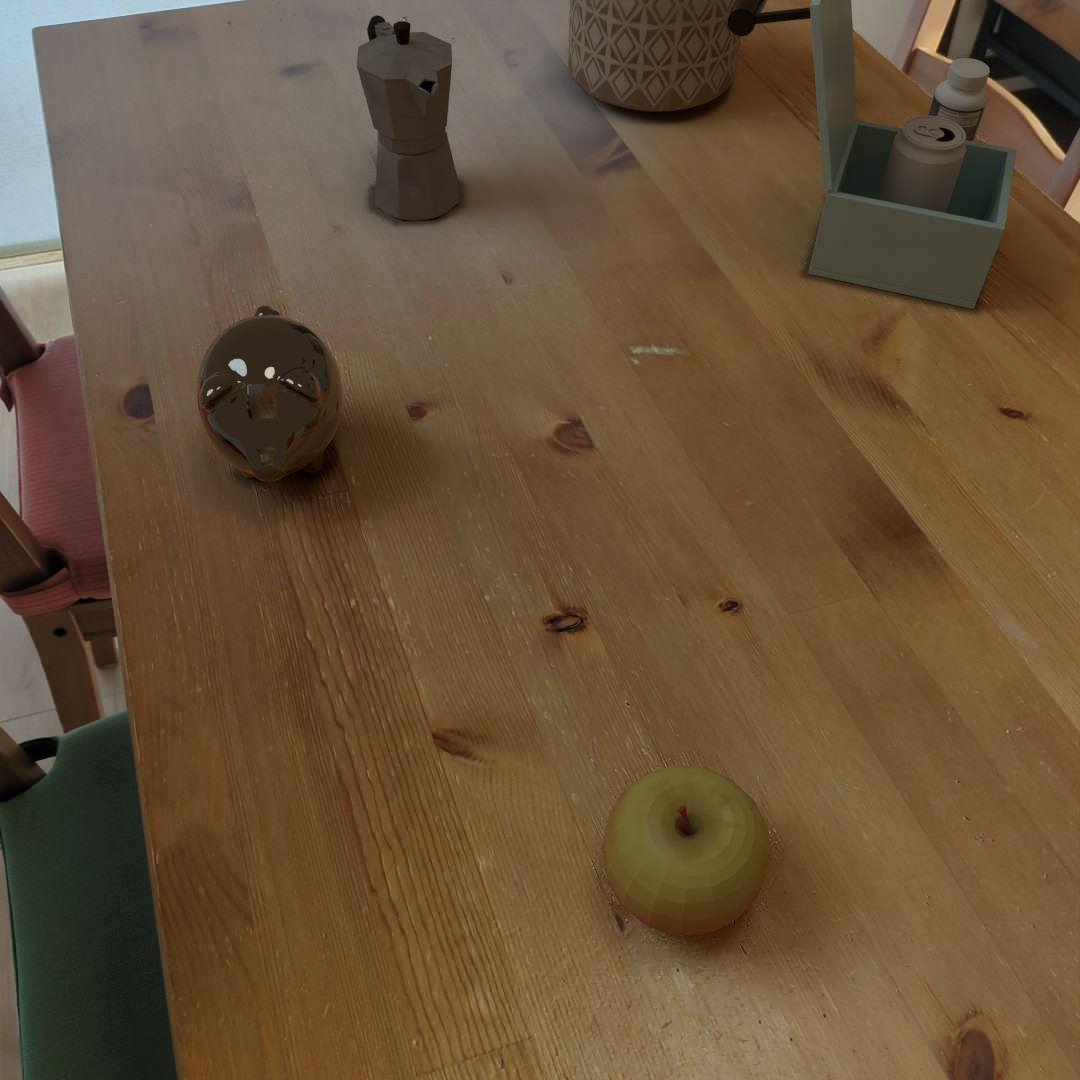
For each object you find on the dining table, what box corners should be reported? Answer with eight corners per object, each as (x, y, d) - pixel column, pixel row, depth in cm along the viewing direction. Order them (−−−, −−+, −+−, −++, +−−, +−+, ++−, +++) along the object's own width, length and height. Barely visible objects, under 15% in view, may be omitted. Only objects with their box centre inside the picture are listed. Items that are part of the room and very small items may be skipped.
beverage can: (928, 269, 106) (966, 156, 97) (861, 254, 108) (892, 141, 98) (938, 232, 110) (975, 120, 101) (873, 218, 111) (904, 106, 102)
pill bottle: (924, 135, 123) (950, 49, 115) (973, 148, 121) (1002, 61, 114) (911, 160, 120) (937, 72, 112) (961, 173, 118) (991, 85, 111)
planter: (648, 24, 138) (660, -120, 126) (767, 84, 129) (793, -65, 117) (533, 77, 130) (533, -72, 117) (653, 144, 121) (667, -9, 108)
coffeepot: (485, 218, 112) (479, 43, 98) (398, 242, 110) (379, 67, 96) (426, 143, 121) (413, -27, 107) (344, 164, 118) (320, -8, 104)
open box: (987, 228, 112) (1016, 149, 105) (973, 309, 104) (1004, 229, 97) (832, 197, 115) (851, 118, 108) (807, 274, 107) (826, 194, 100)
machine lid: (848, -65, 96) (749, -52, 100) (819, 4, 88) (713, 15, 92) (857, 114, 108) (767, 120, 111) (832, 189, 100) (736, 193, 103)
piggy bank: (208, 526, 86) (171, 420, 77) (220, 394, 96) (188, 286, 87) (353, 514, 87) (333, 408, 78) (351, 384, 97) (332, 276, 88)
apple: (621, 783, 73) (630, 721, 67) (769, 824, 71) (792, 764, 65) (581, 926, 67) (587, 872, 61) (742, 974, 65) (764, 924, 59)
